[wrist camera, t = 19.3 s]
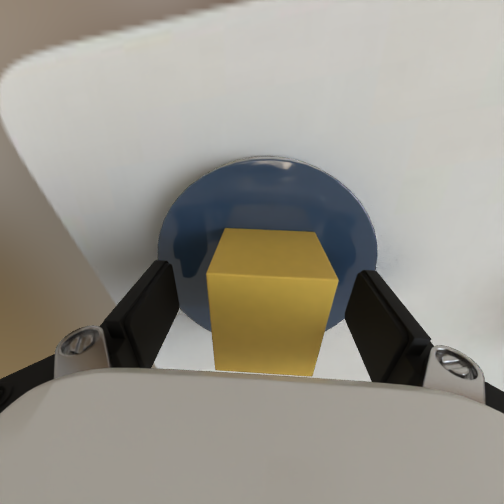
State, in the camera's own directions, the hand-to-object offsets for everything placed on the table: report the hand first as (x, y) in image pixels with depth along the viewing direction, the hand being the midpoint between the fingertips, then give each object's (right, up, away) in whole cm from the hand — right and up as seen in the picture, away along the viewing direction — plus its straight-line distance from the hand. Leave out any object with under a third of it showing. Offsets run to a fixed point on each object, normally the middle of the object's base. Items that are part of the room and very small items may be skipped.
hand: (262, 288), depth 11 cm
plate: (0, +1, +2) cm, 2 cm away
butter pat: (0, +1, +1) cm, 1 cm away
